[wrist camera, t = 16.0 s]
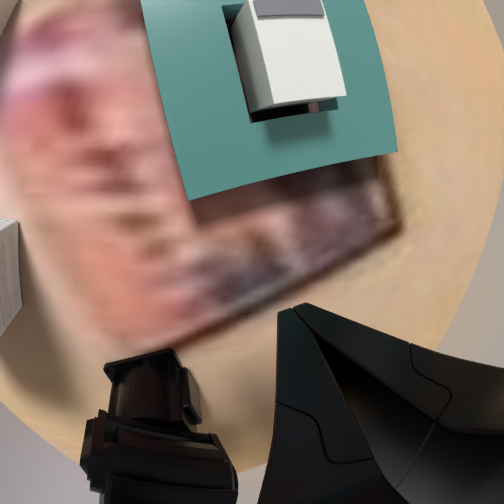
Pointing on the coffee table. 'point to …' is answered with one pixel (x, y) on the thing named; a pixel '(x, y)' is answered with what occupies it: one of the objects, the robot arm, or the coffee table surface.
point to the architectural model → (6, 12)
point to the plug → (286, 53)
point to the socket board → (234, 106)
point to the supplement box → (9, 273)
